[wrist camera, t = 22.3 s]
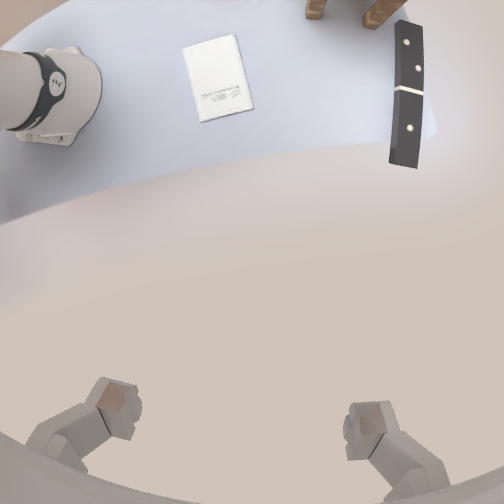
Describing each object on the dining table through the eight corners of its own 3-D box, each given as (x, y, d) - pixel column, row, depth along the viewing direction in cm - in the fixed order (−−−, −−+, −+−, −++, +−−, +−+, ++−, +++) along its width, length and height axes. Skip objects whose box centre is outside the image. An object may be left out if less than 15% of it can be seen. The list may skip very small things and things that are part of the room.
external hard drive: (235, 36, 38) (254, 109, 42) (184, 51, 39) (201, 122, 44) (234, 33, 37) (253, 108, 41) (181, 48, 38) (199, 122, 42)
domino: (388, 162, 43) (394, 164, 41) (393, 23, 35) (399, 19, 32) (410, 166, 43) (417, 168, 41) (416, 30, 34) (423, 26, 32)
